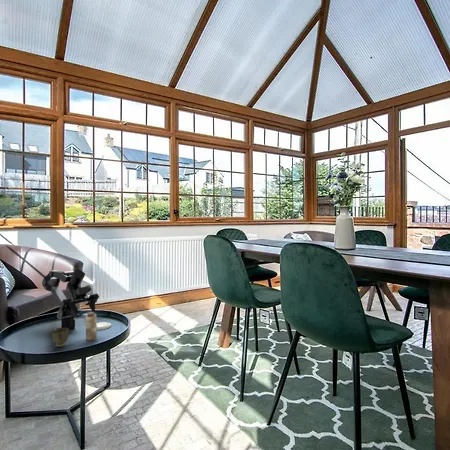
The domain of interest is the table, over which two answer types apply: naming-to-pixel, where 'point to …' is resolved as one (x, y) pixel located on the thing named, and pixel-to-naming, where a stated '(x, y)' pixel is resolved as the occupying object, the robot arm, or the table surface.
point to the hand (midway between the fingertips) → (86, 314)
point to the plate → (103, 325)
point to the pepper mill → (91, 327)
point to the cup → (60, 336)
